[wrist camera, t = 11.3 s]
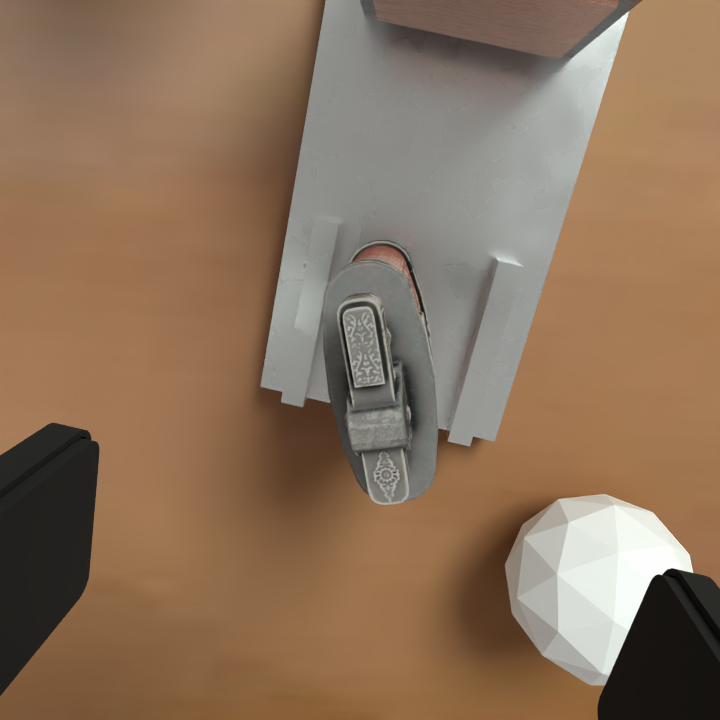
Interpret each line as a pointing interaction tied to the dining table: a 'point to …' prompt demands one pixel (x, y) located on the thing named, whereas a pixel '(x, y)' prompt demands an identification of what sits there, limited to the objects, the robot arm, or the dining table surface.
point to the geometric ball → (587, 578)
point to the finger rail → (442, 177)
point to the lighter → (382, 372)
